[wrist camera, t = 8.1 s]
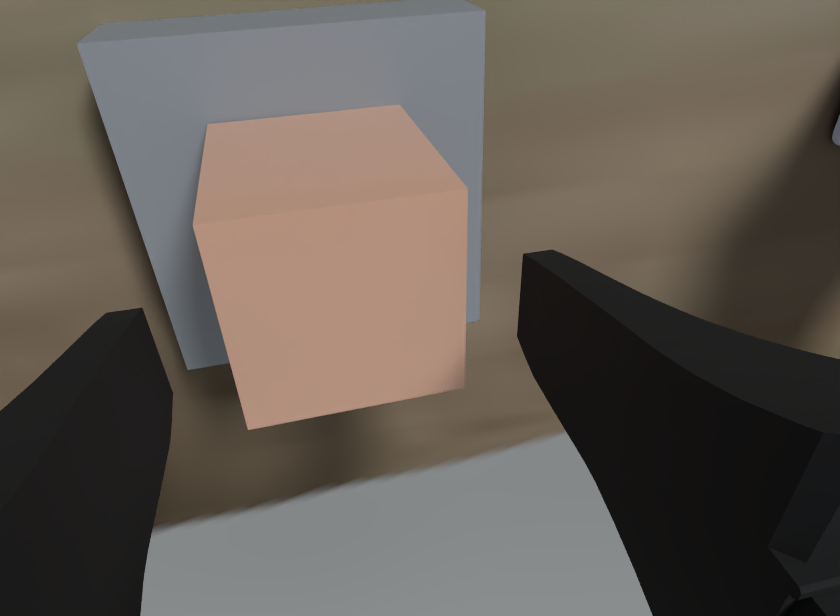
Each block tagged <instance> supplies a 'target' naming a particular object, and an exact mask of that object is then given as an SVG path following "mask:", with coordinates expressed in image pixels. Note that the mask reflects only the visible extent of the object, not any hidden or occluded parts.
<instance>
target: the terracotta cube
mask: <svg viewBox="0 0 840 616" xmlns="http://www.w3.org/2000/svg"><path fill="white" fill-rule="evenodd" d="M467 217H468V188H467V187H466V186H465V185H464V183H463V182H462V181H461V180H460V178H459V177H458V176H457V175H456V173H455V172H454V171H453V170H452V168H451V167H450V166H449V165H448V164H447V162H446V161H445V160H444V159H443V157H442V156H441V155H440V154H439V152H438V151H437V150H436V149H435V148H434V146H433V145H432V144H431V143H430V141H429V140H428V139H427V138H426V136H425V135H424V134H423V133H422V132H421V130H420V129H419V128H418V127H417V125H416V124H415V123H414V122H413V120H412V119H411V118H410V117H409V115H408V114H407V113H406V112H405V111H404V109H403V108H402V107H401V106H400V105H391V106H381V107H370V108H360V109H350V110H341V111H331V112H321V113H311V114H301V115H292V116H282V117H272V118H262V119H253V120H243V121H233V122H223V123H213V124H207V130H206V136H205V143H204V150H203V157H202V164H201V171H200V177H199V184H198V191H197V198H196V205H195V212H194V218H193V228H194V232H195V236H196V240H197V243H198V247H199V251H200V254H201V258H202V262H203V265H204V269H205V273H206V276H207V280H208V284H209V288H210V291H211V295H212V299H213V302H214V306H215V310H216V313H217V317H218V321H219V324H220V328H221V332H222V335H223V339H224V343H225V347H226V350H227V354H228V358H229V361H230V365H231V369H232V372H233V376H234V380H235V383H236V387H237V391H238V395H239V398H240V402H241V406H242V409H243V413H244V417H245V420H246V424H247V428H248V430H251V429H257V428H262V427H267V426H272V425H277V424H282V423H287V422H292V421H297V420H303V419H308V418H313V417H318V416H323V415H328V414H333V413H338V412H344V411H349V410H354V409H359V408H364V407H369V406H374V405H379V404H384V403H390V402H395V401H400V400H405V399H410V398H415V397H420V396H425V395H431V394H436V393H441V392H446V391H451V390H456V389H461V388H465V356H466V287H467Z"/></svg>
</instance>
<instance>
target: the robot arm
mask: <svg viewBox="0 0 840 616" xmlns="http://www.w3.org/2000/svg"><path fill="white" fill-rule="evenodd" d="M832 139H833V142H834V143H835V144H836V145H838V146H840V115H839V118H838V120H837V123H836V126H835V129H834V132H833V136H832ZM517 337H518V340H519V342H520V345H521V348H522V350H523V353H524V355H525V358H526V360H527V362H528V365H529V367H530V369H531V372H532V374H533V376H534V378H535V380H536V381H537V383H538V385H539V387H540V388H541V390H542V392H543V393H544V395H545V397H546V399H547V400H548V402H549V404H550V405H551V407H552V409H553V410H554V412H555V414H556V415H557V417H558V419H559V420H560V422H561V424H562V425H563V427H564V429H565V430H566V432H567V434H568V435H569V437H570V438H571V440H572V442H573V443H574V445H575V447H576V448H577V450H578V452H579V453H580V455H581V457H582V458H583V460H584V462H585V464H586V465H587V467H588V469H589V471H590V473H591V475H592V476H593V478H594V480H595V482H596V484H597V486H598V489H599V491H600V493H601V495H602V497H603V499H604V502H605V504H606V506H607V508H608V510H609V512H610V515H611V517H612V519H613V521H614V523H615V526H616V528H617V530H618V532H619V535H620V537H621V539H622V541H623V544H624V546H625V549H626V551H627V554H628V556H629V558H630V561H631V563H632V565H633V567H634V570H635V572H636V574H637V577H638V580H639V582H640V585H641V587H642V590H643V592H644V595H645V597H646V600H647V602H648V605H649V607H650V610H651V612H652V615H653V616H840V359H836V358H831V357H827V356H823V355H819V354H814V353H810V352H806V351H802V350H798V349H794V348H791V347H787V346H783V345H780V344H776V343H772V342H769V341H765V340H762V339H758V338H755V337H752V336H749V335H745V334H742V333H739V332H736V331H734V330H731V329H728V328H725V327H722V326H719V325H717V324H714V323H711V322H708V321H705V320H703V319H700V318H697V317H695V316H692V315H690V314H687V313H685V312H683V311H680V310H678V309H676V308H673V307H671V306H669V305H667V304H664V303H662V302H660V301H657V300H655V299H653V298H651V297H649V296H647V295H644V294H642V293H640V292H638V291H636V290H634V289H632V288H630V287H628V286H626V285H624V284H622V283H620V282H618V281H616V280H614V279H612V278H610V277H608V276H606V275H604V274H602V273H600V272H598V271H596V270H594V269H592V268H590V267H588V266H587V265H585V264H583V263H581V262H579V261H577V260H575V259H573V258H570V257H568V256H566V255H564V254H562V253H559V252H557V251H554V250H546V251H539V252H532V253H525V254H523V263H522V276H521V290H520V304H519V317H518V331H517ZM172 401H173V392H172V389H171V387H170V384H169V381H168V378H167V375H166V373H165V370H164V367H163V364H162V361H161V359H160V356H159V353H158V350H157V348H156V345H155V342H154V339H153V336H152V334H151V331H150V328H149V325H148V322H147V320H146V317H145V314H144V311H143V308H137V309H130V310H123V311H116V312H109V313H106V314H104V315H103V316H102V317H101V318H100V319H99V320H97V321H96V322H95V323H94V324H93V325H92V326H91V327H90V328H89V329H88V330H87V331H86V332H85V333H84V334H83V335H82V336H81V337H80V338H79V339H78V340H76V341H75V342H74V343H73V344H72V345H71V346H70V347H69V348H68V349H67V350H66V351H65V352H64V353H63V354H62V355H61V356H60V357H59V358H58V359H57V360H56V361H55V362H54V363H53V364H52V365H51V366H50V367H49V368H48V369H46V370H45V371H44V372H43V373H42V374H41V375H40V376H39V377H38V378H37V379H36V380H35V381H34V382H33V383H32V384H31V385H30V386H28V387H27V388H26V389H25V390H24V391H23V392H22V393H20V394H19V395H18V396H17V397H16V398H15V399H14V400H12V401H11V402H10V403H9V404H8V405H7V406H6V407H4V408H3V409H2V410H1V411H0V616H140V612H141V601H142V590H143V580H144V572H145V565H146V559H147V553H148V547H149V543H150V538H151V533H152V528H153V524H154V519H155V514H156V509H157V504H158V500H159V495H160V490H161V485H162V480H163V475H164V470H165V465H166V460H167V455H168V450H169V445H170V438H171V423H172Z"/></svg>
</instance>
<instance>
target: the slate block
mask: <svg viewBox="0 0 840 616" xmlns="http://www.w3.org/2000/svg"><path fill="white" fill-rule="evenodd" d="M485 19H486V10H484V9H482V8H480V7H478V6H476V5H473V4H471V3H469V2H467V1H465V0H405V1H392V2H379V3H366V4H353V5H340V6H327V7H314V8H301V9H288V10H275V11H262V12H249V13H236V14H223V15H210V16H197V17H184V18H171V19H158V20H145V21H132V22H119V23H106V24H101V25H99V26H98V27H97V28H96V29H94V30H93V31H92V32H91V33H89V34H88V35H87V36H86V37H84V38H83V39H82V40H81V41H79V42H78V43H77V47H78V49H79V52H80V55H81V58H82V61H83V64H84V67H85V70H86V73H87V76H88V79H89V82H90V85H91V88H92V91H93V94H94V97H95V99H96V102H97V105H98V108H99V111H100V114H101V117H102V120H103V123H104V126H105V129H106V132H107V135H108V138H109V141H110V144H111V146H112V149H113V152H114V155H115V158H116V161H117V164H118V167H119V170H120V173H121V176H122V179H123V182H124V185H125V188H126V191H127V193H128V196H129V199H130V202H131V205H132V208H133V211H134V214H135V217H136V220H137V223H138V226H139V229H140V232H141V235H142V238H143V241H144V243H145V246H146V249H147V252H148V255H149V258H150V261H151V264H152V267H153V270H154V273H155V276H156V279H157V282H158V285H159V288H160V290H161V293H162V296H163V299H164V302H165V305H166V308H167V311H168V314H169V317H170V320H171V323H172V326H173V329H174V332H175V335H176V337H177V340H178V343H179V346H180V349H181V352H182V355H183V358H184V361H185V364H186V367H187V370H192V369H198V368H204V367H210V366H215V365H221V364H227V363H230V361H229V358H228V354H227V350H226V347H225V343H224V339H223V335H222V332H221V328H220V324H219V321H218V317H217V313H216V310H215V306H214V302H213V299H212V295H211V291H210V288H209V284H208V280H207V276H206V273H205V269H204V265H203V262H202V258H201V254H200V251H199V247H198V243H197V240H196V236H195V232H194V228H193V218H194V212H195V205H196V198H197V191H198V184H199V177H200V171H201V164H202V157H203V150H204V143H205V136H206V130H207V124H213V123H223V122H233V121H243V120H253V119H262V118H272V117H282V116H292V115H301V114H311V113H321V112H331V111H341V110H350V109H360V108H370V107H381V106H391V105H400V106H401V107H402V108H403V109H404V111H405V112H406V113H407V114H408V115H409V117H410V118H411V119H412V120H413V122H414V123H415V124H416V125H417V127H418V128H419V129H420V130H421V132H422V133H423V134H424V135H425V136H426V138H427V139H428V140H429V141H430V143H431V144H432V145H433V146H434V148H435V149H436V150H437V151H438V152H439V154H440V155H441V156H442V157H443V159H444V160H445V161H446V162H447V164H448V165H449V166H450V167H451V168H452V170H453V171H454V172H455V173H456V175H457V176H458V177H459V178H460V180H461V181H462V182H463V183H464V185H465V186H466V187H467V188H468V217H467V287H466V323H470V322H475V321H479V309H480V260H481V212H482V164H483V116H484V67H485Z"/></svg>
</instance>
